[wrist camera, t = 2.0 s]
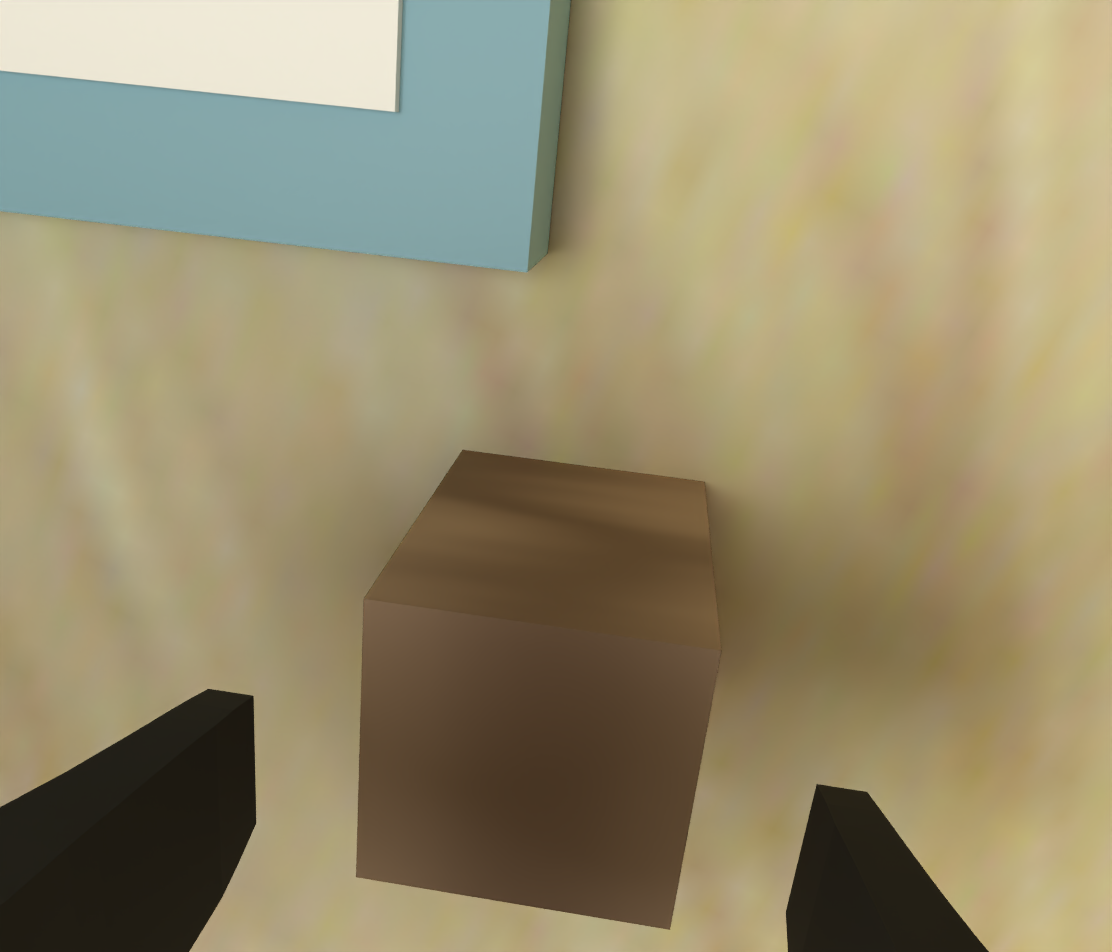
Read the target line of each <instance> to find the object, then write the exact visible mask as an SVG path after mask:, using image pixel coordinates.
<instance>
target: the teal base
mask: <svg viewBox="0 0 1112 952" xmlns="http://www.w3.org/2000/svg"><path fill="white" fill-rule="evenodd" d="M570 5H571V0H0V211H4V212H13V213H21V214H30V215H38V216H47V217H55V218H64V219H73V220H81V221H90V222H98V223H107V224H116V225H124V226H133V227H141V228H150V229H159V230H167V231H176V232H184V233H193V234H201V235H210V236H219V237H227V238H236V239H244V240H253V241H262V242H270V243H279V244H287V245H296V246H305V247H313V248H322V249H330V250H339V251H347V252H356V253H365V254H373V255H382V256H390V257H399V258H408V259H416V260H425V261H433V262H442V263H451V264H459V265H468V266H476V267H485V268H493V269H502V270H511V271H519V272H528V271H529V270H530V269H531V268H532V267H534V266H535V265H536V264H537V263H538V262H539V261H540V260H541V259H542V258H543V257H544V256H545V255H546V254H547V253H548V243H549V232H550V221H551V210H552V200H553V189H554V178H555V167H556V156H557V145H558V135H559V124H560V113H561V102H562V91H563V80H564V70H565V59H566V48H567V37H568V26H569V16H570Z"/></svg>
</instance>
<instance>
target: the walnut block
mask: <svg viewBox="0 0 1112 952" xmlns="http://www.w3.org/2000/svg"><path fill="white" fill-rule="evenodd" d="M721 651H722V650H721V640H720V630H719V620H718V610H717V601H716V591H715V581H714V571H713V561H712V551H711V541H710V531H709V521H708V511H707V501H706V491H705V482H702V481H695V480H687V479H680V478H672V477H664V476H657V475H649V474H642V473H634V472H626V471H619V470H611V469H604V468H596V467H588V466H581V465H573V464H566V463H558V462H550V461H543V460H535V459H528V458H520V457H512V456H505V455H497V454H490V453H482V452H474V451H467V450H462V452H461V453H460V455H459V456H458V458H457V459H456V461H455V462H454V464H453V465H452V467H451V468H450V470H449V471H448V473H447V474H446V476H445V477H444V479H443V480H442V482H441V483H440V485H439V486H438V488H437V489H436V491H435V492H434V494H433V495H432V497H431V498H430V500H429V501H428V503H427V504H426V506H425V507H424V509H423V510H422V512H421V513H420V515H419V516H418V518H417V519H416V521H415V522H414V524H413V525H412V527H411V528H410V530H409V531H408V533H407V534H406V536H405V538H404V539H403V541H402V542H401V544H400V545H399V547H398V548H397V550H396V551H395V553H394V554H393V556H392V557H391V559H390V560H389V562H388V563H387V565H386V566H385V568H384V569H383V571H382V572H381V574H380V575H379V577H378V578H377V580H376V581H375V583H374V584H373V586H372V587H371V589H370V590H369V592H368V593H367V595H366V596H365V598H364V608H363V644H362V681H361V717H360V754H359V790H358V827H357V864H356V877H359V878H365V879H371V880H377V881H383V882H389V883H395V884H401V885H406V886H412V887H418V888H424V889H430V890H436V891H442V892H448V893H454V894H460V895H466V896H472V897H478V898H484V899H490V900H496V901H502V902H508V903H514V904H520V905H526V906H532V907H538V908H544V909H550V910H556V911H562V912H568V913H574V914H580V915H586V916H592V917H598V918H604V919H610V920H616V921H621V922H627V923H633V924H639V925H645V926H651V927H657V928H663V929H669V930H670V927H671V921H672V916H673V910H674V905H675V900H676V894H677V889H678V883H679V878H680V872H681V867H682V862H683V856H684V851H685V845H686V840H687V835H688V829H689V824H690V818H691V813H692V808H693V802H694V797H695V791H696V786H697V781H698V775H699V770H700V764H701V759H702V754H703V748H704V743H705V737H706V732H707V727H708V721H709V716H710V710H711V705H712V700H713V694H714V689H715V683H716V678H717V673H718V667H719V662H720V656H721Z"/></svg>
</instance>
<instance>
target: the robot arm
mask: <svg viewBox="0 0 1112 952" xmlns="http://www.w3.org/2000/svg"><path fill="white" fill-rule="evenodd" d="M255 825H256V792H255V746H254V699H253V696H250V695H244V694H238V693H231V692H225V691H219V690H212V689H207V690H206V691H204V692H202V693H200V694H198V695H196V696H194V697H193V698H191V699H189V700H187V701H185V702H184V703H182V704H180V705H179V706H177V707H175V708H174V709H172V710H170V711H168V712H167V713H165V714H163V715H162V716H160V717H158V718H157V719H155V720H153V721H152V722H150V723H148V724H147V725H145V726H143V727H142V728H140V729H138V730H137V731H135V732H133V733H132V734H130V735H128V736H127V737H125V738H123V739H122V740H120V741H118V742H117V743H115V744H113V745H111V746H110V747H108V748H106V749H105V750H103V751H101V752H99V753H98V754H96V755H94V756H93V757H91V758H89V759H88V760H86V761H84V762H82V763H81V764H79V765H77V766H76V767H74V768H72V769H70V770H69V771H67V772H65V773H63V774H62V775H60V776H58V777H56V778H54V779H52V780H50V781H48V782H47V783H45V784H43V785H41V786H39V787H37V788H35V789H34V790H32V791H30V792H28V793H26V794H24V795H22V796H20V797H19V798H17V799H15V800H13V801H11V802H9V803H7V804H5V805H4V806H2V807H0V952H189V951H190V949H191V948H192V946H193V944H194V943H195V941H196V940H197V938H198V936H199V935H200V933H201V931H202V930H203V928H204V926H205V925H206V923H207V922H208V920H209V918H210V917H211V915H212V913H213V912H214V910H215V908H216V907H217V905H218V903H219V902H220V900H221V898H222V897H223V894H224V892H225V890H226V888H227V886H228V884H229V882H230V880H231V878H232V876H233V873H234V871H235V869H236V867H237V865H238V863H239V861H240V858H241V856H242V854H243V852H244V849H245V847H246V845H247V843H248V840H249V838H250V836H251V834H252V831H253V829H254V827H255ZM786 923H787V941H788V952H988V950H987V949H986V948H985V947H984V945H983V944H982V943H981V942H980V941H979V939H978V938H977V937H976V936H975V935H974V933H973V932H972V931H971V930H970V928H969V927H968V926H967V924H966V923H965V922H964V921H963V919H962V918H961V917H960V916H959V914H958V913H957V912H956V911H955V909H954V908H953V907H952V906H951V904H950V903H949V902H948V900H947V899H946V898H945V897H944V895H943V894H942V893H941V891H940V890H939V889H938V887H937V886H936V885H935V883H934V882H933V881H932V879H931V878H930V877H929V875H928V874H927V873H926V871H925V870H924V869H923V867H922V866H921V865H920V863H919V862H918V861H917V859H916V858H915V857H914V855H913V854H912V852H911V851H910V850H909V848H908V847H907V846H906V844H905V843H904V842H903V840H902V839H901V837H900V836H899V835H898V833H897V832H896V831H895V829H894V828H893V826H892V825H891V824H890V822H889V821H888V820H887V818H886V817H885V816H884V814H883V813H882V811H881V810H880V809H879V807H878V806H877V805H876V803H875V802H874V801H873V799H872V798H871V797H870V795H869V794H868V793H867V792H863V791H857V790H850V789H844V788H838V787H831V786H825V785H818V784H817V785H816V790H815V794H814V798H813V802H812V806H811V810H810V814H809V819H808V823H807V827H806V831H805V835H804V839H803V843H802V848H801V852H800V856H799V860H798V864H797V868H796V872H795V877H794V881H793V885H792V889H791V893H790V897H789V901H788V906H787V910H786Z"/></svg>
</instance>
